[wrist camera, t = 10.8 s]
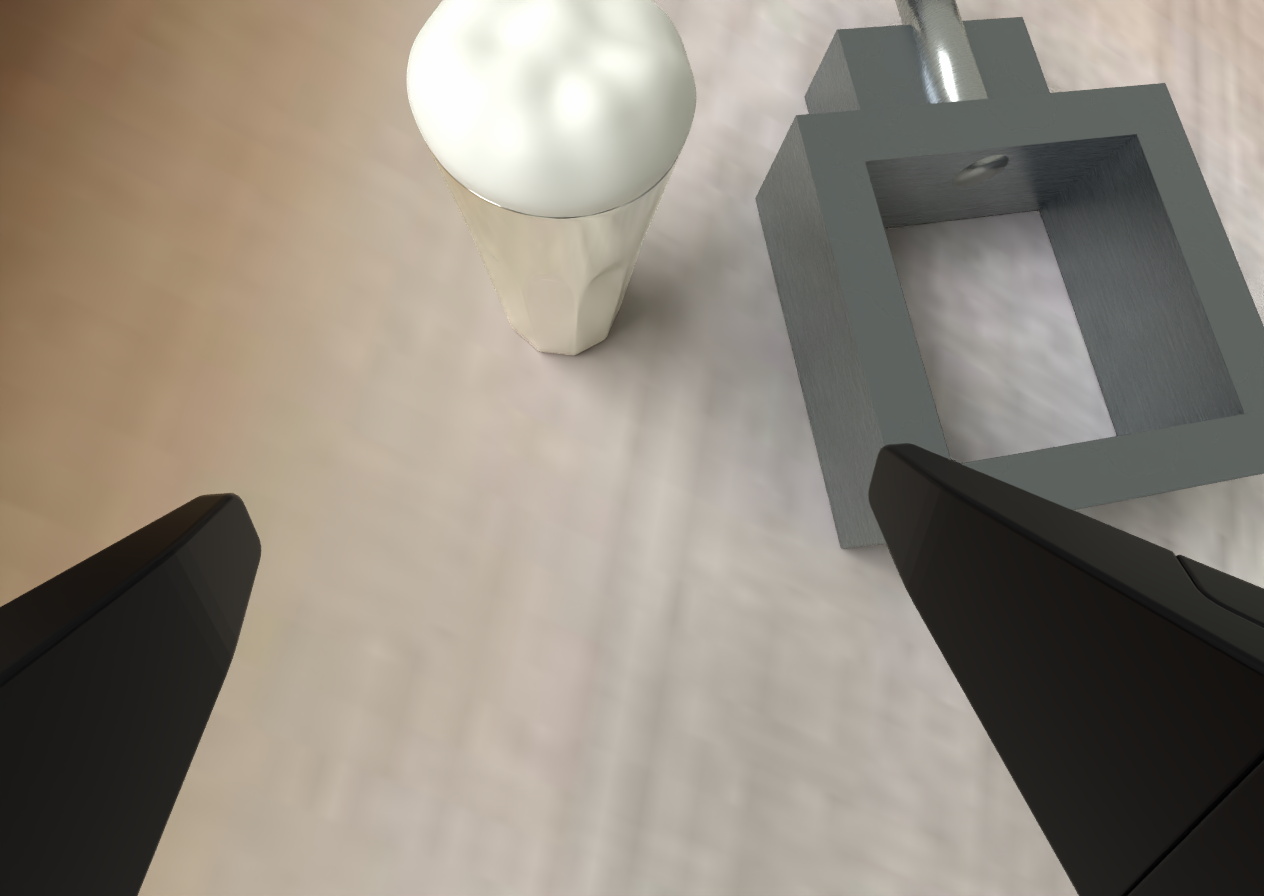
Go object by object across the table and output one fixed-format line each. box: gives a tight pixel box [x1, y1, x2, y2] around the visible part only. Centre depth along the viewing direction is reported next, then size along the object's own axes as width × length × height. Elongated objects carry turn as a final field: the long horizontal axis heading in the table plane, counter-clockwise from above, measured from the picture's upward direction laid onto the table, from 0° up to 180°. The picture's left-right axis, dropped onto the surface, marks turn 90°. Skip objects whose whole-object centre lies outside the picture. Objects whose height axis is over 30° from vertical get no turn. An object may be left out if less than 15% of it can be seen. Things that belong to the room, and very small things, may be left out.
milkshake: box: [407, 0, 696, 356], centre depth 13 cm, size 5×5×10 cm
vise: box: [756, 0, 1264, 549], centre depth 17 cm, size 17×11×4 cm, turn 10°
